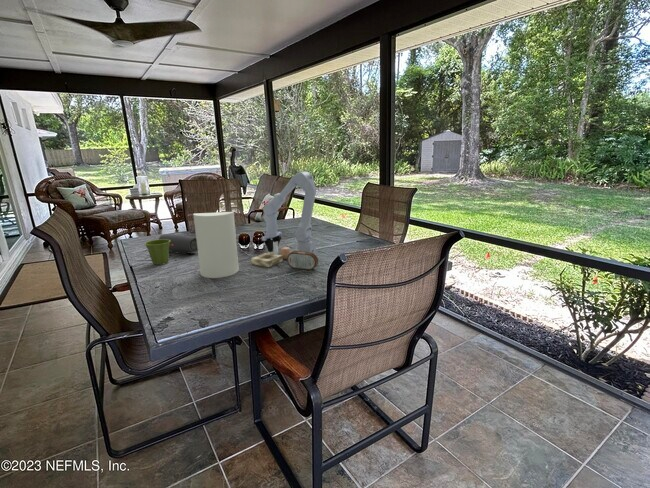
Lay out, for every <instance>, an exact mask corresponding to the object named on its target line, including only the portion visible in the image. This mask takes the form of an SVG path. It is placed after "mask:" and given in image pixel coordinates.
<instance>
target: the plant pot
mask: <svg viewBox="0 0 650 488" xmlns="http://www.w3.org/2000/svg"><path fill="white" fill-rule="evenodd" d="M169 243H170V240H168V239H159V238H158V239H153V240H148V241H146V242H144V245H145V247H146V249H147V250H148V254H149V257H150V260H151V262H152V265H154V264H156V265H158V264H162V265H164V264H163V263H166V264H167V263H169V255H170V253H169V251H170V250H169Z"/></svg>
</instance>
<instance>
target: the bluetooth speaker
mask: <svg viewBox="0 0 650 488" xmlns="http://www.w3.org/2000/svg"><path fill="white" fill-rule="evenodd" d="M159 239H168V240H170V243H169V251H170V252H171V251H172V252H171V253H173V252H178V253H177V254H180V253H187V254H190V253H191V254H193V253H196V252H197V253H198V248H197V240H196V237H194V236H189V235H180V234H179V235H178V234H162V235H160V236H159V238H158V240H159Z"/></svg>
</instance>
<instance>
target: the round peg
mask: <svg viewBox="0 0 650 488" xmlns="http://www.w3.org/2000/svg"><path fill="white" fill-rule="evenodd" d="M290 253H291V247H288V246H286V247H285V246H284V247H280V255H283V260H287V257H288V255H289V254H290Z"/></svg>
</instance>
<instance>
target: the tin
mask: <svg viewBox="0 0 650 488" xmlns="http://www.w3.org/2000/svg"><path fill="white" fill-rule="evenodd" d="M316 255H317V254H316ZM316 255H315V254H314V253H312V252H303V251H297V250H292V251H290V254H289V255H288V257H287V259H286V260H287V264H288V265H289V266H290V267H291V268H293V269H296V270H297V269H298V270H305V269H306V270H307V271H312V270H314V269H315V268H316V267H317V266H318V263H319V259H318V255H317V256H316Z"/></svg>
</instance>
